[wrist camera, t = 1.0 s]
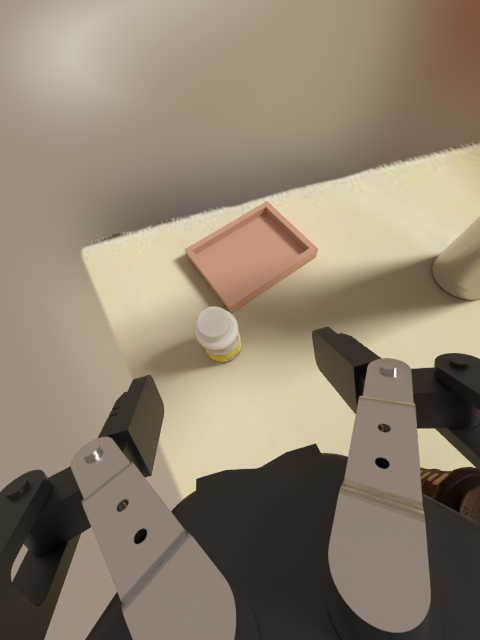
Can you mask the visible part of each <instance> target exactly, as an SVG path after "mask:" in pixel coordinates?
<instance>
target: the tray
mask: <svg viewBox="0 0 480 640" xmlns="http://www.w3.org/2000/svg"><path fill="white" fill-rule="evenodd" d="M317 251H318V248H317V247H316V246H314V245H313V244H312V243H311V242H310V241H309V240H308V239H307V238H306V237H305V236H304V235H303V234H302V233H301V232H299V231H298V230H297V229H296V228H295V227H294V226H293V225H292V224H291V223H290V222H289V221H288V220H287V219H286V218H284V217H283V216H282V215H281V214H280V213H279V212H278V211H277V210H276V209H275V208H274V207H273V206H272V205H271V204H269V203H268V202H267V201H266V202H265V203H263V204H261V205H260V206H258V207H256V208H254V209H253V210H251V211H249V212H248V213H246V214H244V215H243V216H241V217H239V218H237V219H236V220H234V221H232V222H231V223H229V224H227V225H226V226H224V227H222V228H220V229H219V230H217V231H215V232H214V233H212V234H210V235H209V236H207V237H205V238H203V239H202V240H200V241H198V242H197V243H195V244H193V245H192V246H190V247H188V248H186V249H185V252H186V254H187V257H188V259H189V260H190V261H191V262H192V264H193V265H194V266H195V268H196V269H197V270H198V272H199V273H200V274H201V275H202V277H203V278H204V279H205V281H206V282H207V283H208V285H209V286H210V287H211V288H212V290H213V291H214V292H215V294H216V295H217V296H218V298H219V299H220V300H221V301H222V303H223V304H224V305H225V307H226V308H227V309H228V311H229V312H230V313H232V312H234V311H235V310H237V309H238V308H240V307H241V306H243V305H244V304H246V303H247V302H249V301H250V300H252V299H254V298H255V297H257V296H258V295H260V294H261V293H263V292H264V291H266V290H267V289H269V288H270V287H272V286H273V285H275V284H276V283H278V282H279V281H281V280H282V279H284V278H285V277H287V276H288V275H290V274H291V273H293V272H294V271H296V270H297V269H299V268H300V267H302V266H303V265H305V264H306V263H308V262H309V261H311V260H312V259H314V258H315V257H316V254H317Z"/></svg>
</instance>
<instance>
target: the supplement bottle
mask: <svg viewBox="0 0 480 640" xmlns="http://www.w3.org/2000/svg"><path fill="white" fill-rule="evenodd" d="M195 335H196V338H197V340H198V342H199V343H200V345H201V346H202V347H203V349H204V350H205V351H206V353H207V354H208V356H209V357H210V358H211V359H212V360H214V361H216V362H219V363H227V362H230V361H232V360H234V359H235V358H236V357H237V356H238V355H239V353H240V351H241V347H242V343H241V338H240V333H239V328H238V324H237V321H236V319H235V317H234V316H233V315H232V314H231V313H230V312H228V311H226V310H224V309H222V308H220V307H216V306H212V307H208V308H206V309H204V310H203V311H202V312H201V313H200V314H199V316H198V318H197V322H196V325H195Z"/></svg>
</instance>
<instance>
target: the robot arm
mask: <svg viewBox="0 0 480 640" xmlns="http://www.w3.org/2000/svg"><path fill="white" fill-rule="evenodd" d="M432 272H433V276H434V278H435V280H436V282H437V283H438V285H439V286H440V287H441V288H442V289H444V290H445V291H446V292H448V293H449V294H451V295H453V296H455V297H458V298H462V299H467V300H477V299H480V217H479V218H478V219H477V220H476V221H475V222H474V223H472V224H471V225H470V226H469V227H468V228H467V229H466V230H465V231H464V232H463V233H462V234H461V235H460V236H459V237H458V238H457V239H456V240H455V241H454V242H453V243H452V244H451V245H450V246H449V247H447V248H446V249H445V250H444V251H443V252H442V253H441V254H440V255H439V256H438V257H437V258H436V260H435V261H434V263H433V265H432ZM312 338H313V346H314V353H315V359H316V363H317V366H318V368H319V370H320V371H321V372H322V374H323V375H324V376H325V377H326V378H327V380H328V381H329V382H330V383H331V385H332V386H333V387H334V388H335V389H336V391H337V392H338V393H339V394H340V396H341V397H342V398H343V399H344V401H345V402H346V403H347V404H348V405H349V407H350V408H351V409H352V410H353V412H354V413H355V414H356V417H355V423H354V428H353V434H352V439H351V445H350V450H349V456H348V457H347V456H343V455H338V454H331V453H321V452H320V451H319V449H318V447H317V445H316V444H313V445H309V446H306V447H303V448H299V449H296V450H293V451H289V452H286V453H285V454H283V455H281V456H279V457H278V458H276V459H274V460H272V461H271V462H269V463H267V464H265V465H264V466H262V467H260V468H256V469H238V470H225V471H221V472H218V473H215V474H211V475H208V476H204V477H201V478H198V479H196V491H194V492H193V493H191V494H190V495H188V496H187V497H186V498H185V499H183V500H182V501H181V502H180V503H179V504H178V505H177V506H176V507H175V508H174V509H173V510H172V511H170V510H169V509H168V507H167V506H166V505H165V503H164V502H163V501H162V499H161V498H160V497H159V496H158V494H157V493H156V492H155V491H154V489H153V488H152V487H151V485H150V484H149V483H148V481H147V480H146V479H145V477H148V476H151V474H152V470H153V465H154V460H155V455H156V450H157V446H158V441H159V436H160V431H161V426H162V422H163V417H164V405H163V401H162V399H161V397H160V394H159V392H158V389H157V387H156V385H155V382H154V380H153V378H152V376H151V375H147V376H144V377H140V378H136V379H134V380H133V381H132V383H131V385H130V387H129V390H128V392H124V393H123V395H121V397H120V398H119V399H118V400H117V401H116V403H115V405H114V407H113V408H112V411H111V412H110V415H109V418H108V419H107V421H106V423H105V425H104V427H103V429H102V431H101V433H100V435H99V437H98V439H95V440H93V441H91V442H90V443H88V444H87V445H85V446H84V447H83V448H81V449H80V451H78V452H77V454H76V455H75V456H74V458H73V460H72V462H71V466H70V467H68V468H66V469H65V470H63V471H61V472H59V473H57V474H55V475H53V476H51V477H49V478H47V476H46V475H45V473H44V472H43V471H41V470H33V471H30V472H27V473H25V474H23V475H21V476H20V477H18V478H17V479H15V480H14V481H12V482H11V483H10V484H9V485H7V486H6V487H5V488H4V489H3V490H2V491H1V492H0V640H44V638H45V635H46V633H47V629H48V627H49V624H50V621H51V618H52V615H53V612H54V609H55V606H56V604H57V601H58V598H59V595H60V592H61V589H62V587H63V584H64V581H65V578H66V575H67V572H68V569H69V566H70V564H71V561H72V558H73V555H74V552H75V549H76V547H77V543H78V541H79V538H80V535H81V533H82V532H84V531H85V530H87V529H89V528H90V527H92V530H93V532H94V534H95V537H96V540H97V542H98V545H99V547H100V549H101V552H102V555H103V557H104V560H105V562H106V565H107V567H108V570H109V572H110V575H111V577H112V580H113V582H114V585H115V587H116V590H117V593H116V594H115V596H114V597H113V599H112V600H111V602H110V603H109V605H108V606H107V608H106V609H105V611H104V612H103V614H102V615H101V617H100V618H99V620H98V621H97V623H96V624H95V626H94V627H93V629H92V630H91V632H90V633H89V635H88V637H87V638H86V639H85V640H480V523H478V522H476V521H474V520H472V519H470V518H468V517H466V516H464V515H462V514H460V513H459V512H457V511H455V510H453V509H451V508H449V507H447V506H445V505H443V504H441V503H439V502H437V501H435V500H433V499H431V498H430V497H428V496H426V495H424V494H422V489H421V476H420V462H419V449H418V435H417V428H435V429H436V430H437V431H438V432H439V433H440V434H441V435H442V436H444V437H445V438H446V439H447V440H448V441H449V442H450V443H451V444H452V445H453V446H454V447H455V448H456V449H457V450H458V451H459V452H460V453H461V454H462V455H463V456H465V457H466V458H467V459H468V460H469V461H470V462H471V463H472V464H473V465H474V466H475V467H476V468H477V469H478V470H479V471H480V359H478V358H476V357H473V356H470V355H466V354H459V353H449V354H443V355H440V356H438V357H437V358H436V359H435V365H434V368H419V369H411V368H410V367H409V366H408V365H407V364H406V363H404V362H402V361H399V360H396V359H389V358H384V359H381V358H380V357H379V356H377V355H376V354H375V353H373V352H372V351H371V350H369V349H368V348H367V347H364V345H362V344H361V343H360V342H358V341H357V340H356V339H354V338H353V337H352V336H349V335H346V334H343V333H340V334H337V333H336V332H334V331H333V330H332V329H331V328H329V327H324V328H321V329H317V330H313V331H312ZM23 544H24V545H25V546H26V547H27V548H28V552H27V554H26V556H25V557H24V560H23V561H22V564H21V565H20V568H19V570H18V572H17V574H16V576H15V578H14V580H13V582H11V569H12V565H13V563H14V561H15V559H16V557H17V555H18V553H19V551H20V549H21V547H22V545H23Z"/></svg>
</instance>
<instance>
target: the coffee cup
mask: <svg viewBox="0 0 480 640" xmlns="http://www.w3.org/2000/svg"><path fill="white" fill-rule="evenodd" d="M420 476H421V489H422V494H424V495H426V496H428V497H430V498H431V499H433V500H435V501H437V502H439V503H441V504H443V505H445V506H447V507H449V508H451V509H453V510H455V511H457V512H459V513H460V514H462V515H464V516H466V517H468V518H470V519H472V520H474V521H476V522H478V523H480V471H479V470H478V469H477V468H473V467H465V468H459V469H455V470H453V471H441V470H438V469H425V468H420Z"/></svg>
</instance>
